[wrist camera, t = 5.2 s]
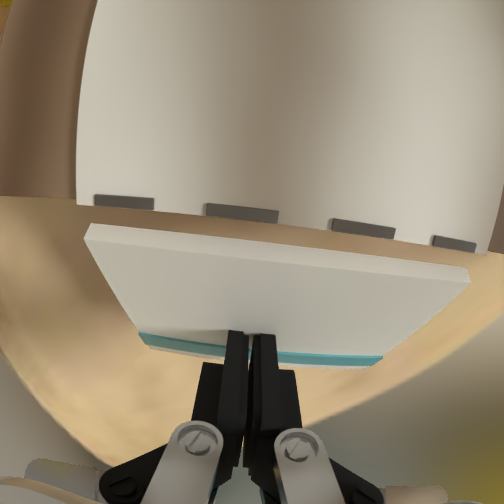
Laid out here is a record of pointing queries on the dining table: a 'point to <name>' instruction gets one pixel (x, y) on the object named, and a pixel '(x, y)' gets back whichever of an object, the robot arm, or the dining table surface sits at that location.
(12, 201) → the dining table surface
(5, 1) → the lemon
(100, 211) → the dining table surface
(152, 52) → the brown box with strip
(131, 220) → the dining table surface
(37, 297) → the dining table surface
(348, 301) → the stub
